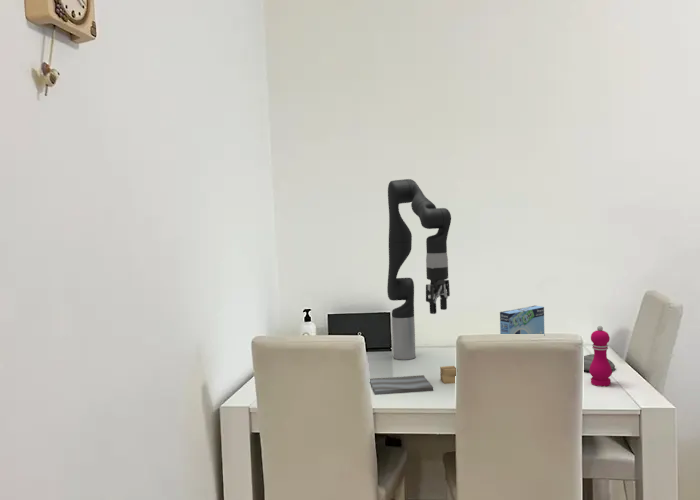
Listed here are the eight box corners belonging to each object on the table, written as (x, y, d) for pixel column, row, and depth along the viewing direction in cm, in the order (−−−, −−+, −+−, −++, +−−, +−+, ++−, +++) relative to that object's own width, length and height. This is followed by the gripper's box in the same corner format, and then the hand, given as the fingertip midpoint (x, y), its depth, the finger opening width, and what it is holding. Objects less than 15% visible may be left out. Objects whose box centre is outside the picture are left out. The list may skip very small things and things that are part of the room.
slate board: (369, 381, 238) (369, 378, 237) (423, 378, 239) (423, 375, 239) (375, 394, 222) (374, 391, 222) (433, 390, 223) (433, 387, 223)
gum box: (535, 363, 254) (534, 305, 253) (546, 366, 250) (545, 306, 248) (500, 372, 244) (498, 311, 242) (510, 375, 239) (509, 313, 238)
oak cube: (440, 380, 236) (440, 366, 236) (454, 379, 237) (453, 365, 236) (443, 384, 231) (443, 370, 231) (457, 383, 232) (457, 369, 232)
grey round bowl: (574, 373, 239) (573, 358, 238) (570, 363, 253) (570, 349, 253) (618, 374, 235) (617, 359, 235) (611, 364, 250) (611, 350, 249)
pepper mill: (611, 381, 226) (610, 324, 224) (612, 387, 219) (611, 328, 218) (589, 380, 228) (588, 323, 227) (589, 386, 221) (588, 327, 220)
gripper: (436, 263, 237) (437, 307, 238) (418, 267, 225) (419, 314, 226) (455, 263, 233) (456, 308, 234) (438, 268, 221) (439, 315, 222)
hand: (438, 311), depth 230 cm, fingers open, 8 cm apart
